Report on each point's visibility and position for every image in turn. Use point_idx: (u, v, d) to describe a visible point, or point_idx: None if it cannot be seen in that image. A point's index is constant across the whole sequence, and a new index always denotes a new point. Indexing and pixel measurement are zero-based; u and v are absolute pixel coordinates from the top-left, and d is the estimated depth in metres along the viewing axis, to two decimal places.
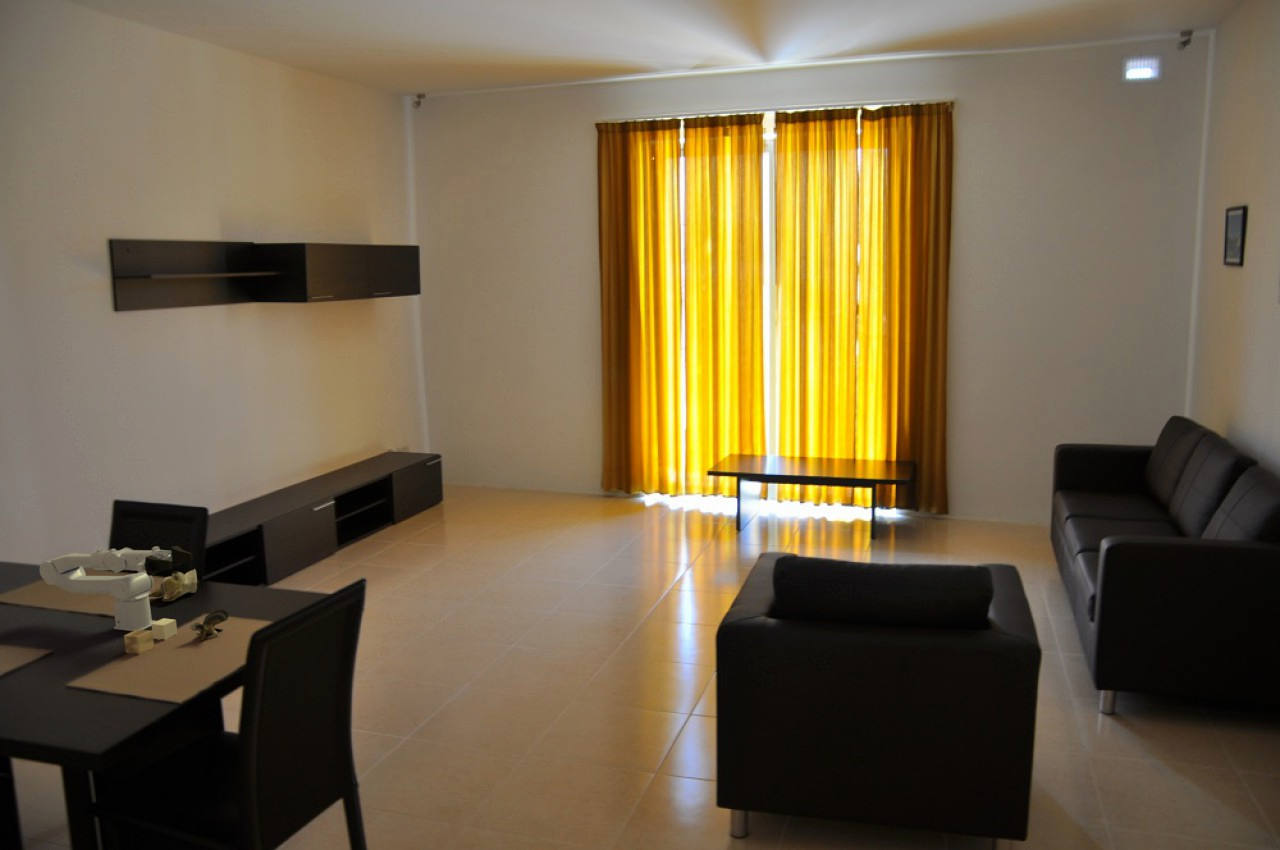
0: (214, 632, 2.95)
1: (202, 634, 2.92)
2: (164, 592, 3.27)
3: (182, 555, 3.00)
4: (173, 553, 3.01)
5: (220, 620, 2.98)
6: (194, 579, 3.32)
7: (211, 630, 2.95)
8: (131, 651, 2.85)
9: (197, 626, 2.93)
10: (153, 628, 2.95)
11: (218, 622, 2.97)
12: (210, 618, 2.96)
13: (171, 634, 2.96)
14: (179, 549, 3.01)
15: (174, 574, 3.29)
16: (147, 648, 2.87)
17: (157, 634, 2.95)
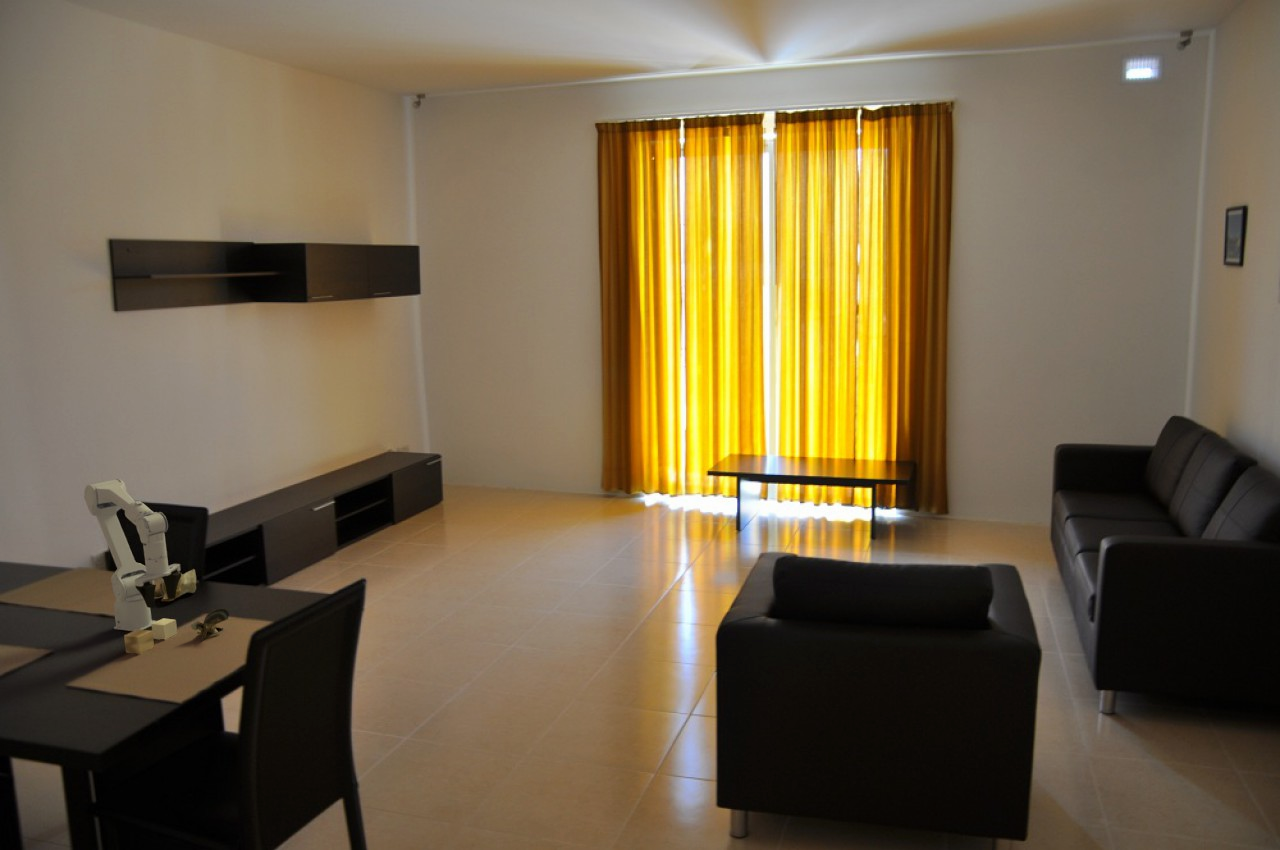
0: (215, 631, 2.96)
1: (203, 633, 2.93)
2: (163, 592, 3.27)
3: (171, 588, 2.98)
4: (171, 577, 2.97)
5: (221, 619, 2.99)
6: (193, 579, 3.32)
7: (212, 629, 2.95)
8: (131, 651, 2.85)
9: (198, 625, 2.94)
10: (153, 628, 2.95)
11: (219, 621, 2.98)
12: (210, 617, 2.97)
13: (171, 634, 2.96)
14: (177, 582, 2.98)
15: None
16: (147, 648, 2.87)
17: (157, 634, 2.95)
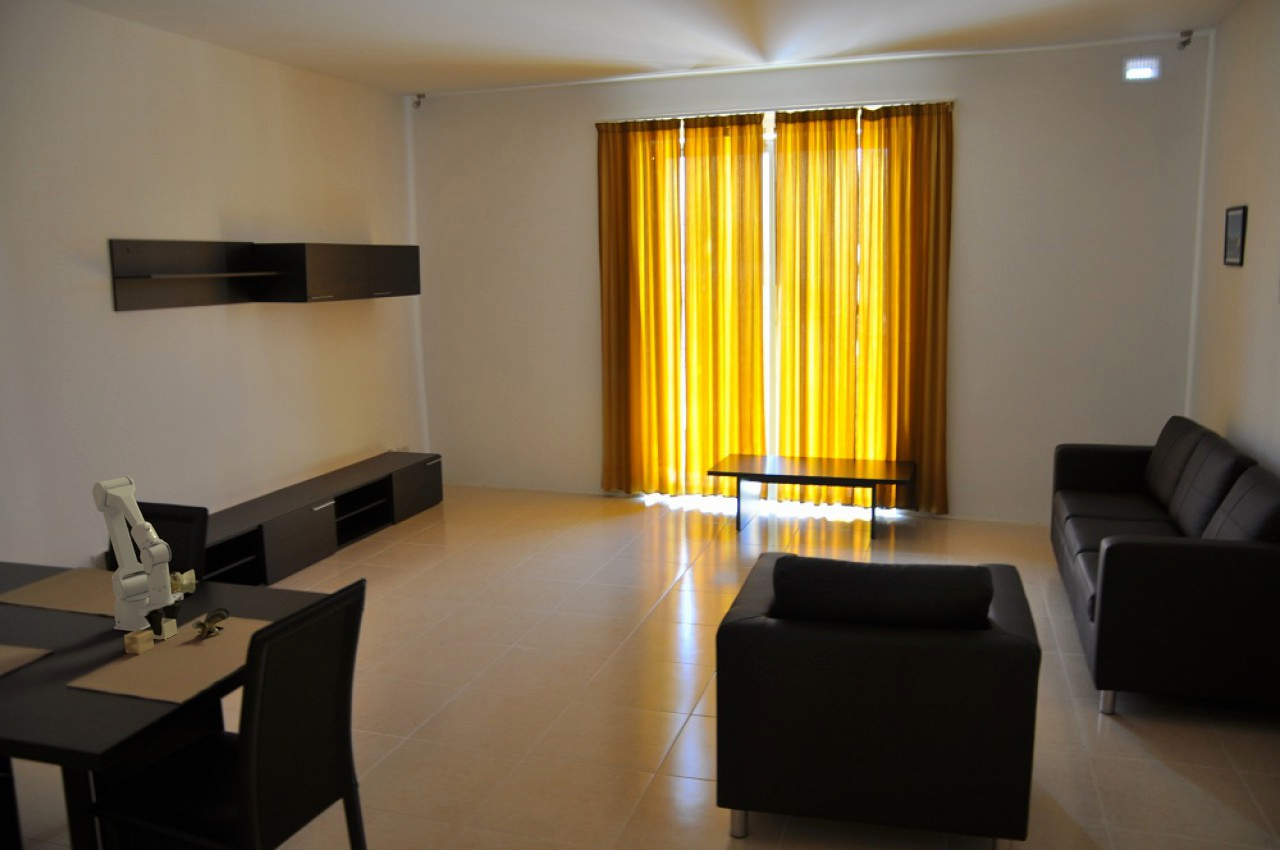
0: (215, 630, 2.97)
1: (203, 632, 2.93)
2: None
3: (170, 618, 2.99)
4: (171, 607, 2.98)
5: (221, 618, 2.99)
6: (192, 579, 3.32)
7: (212, 628, 2.96)
8: (131, 651, 2.85)
9: (198, 624, 2.95)
10: None
11: (219, 620, 2.99)
12: (211, 616, 2.98)
13: (171, 634, 2.96)
14: (177, 612, 2.98)
15: (172, 574, 3.29)
16: (147, 648, 2.87)
17: None
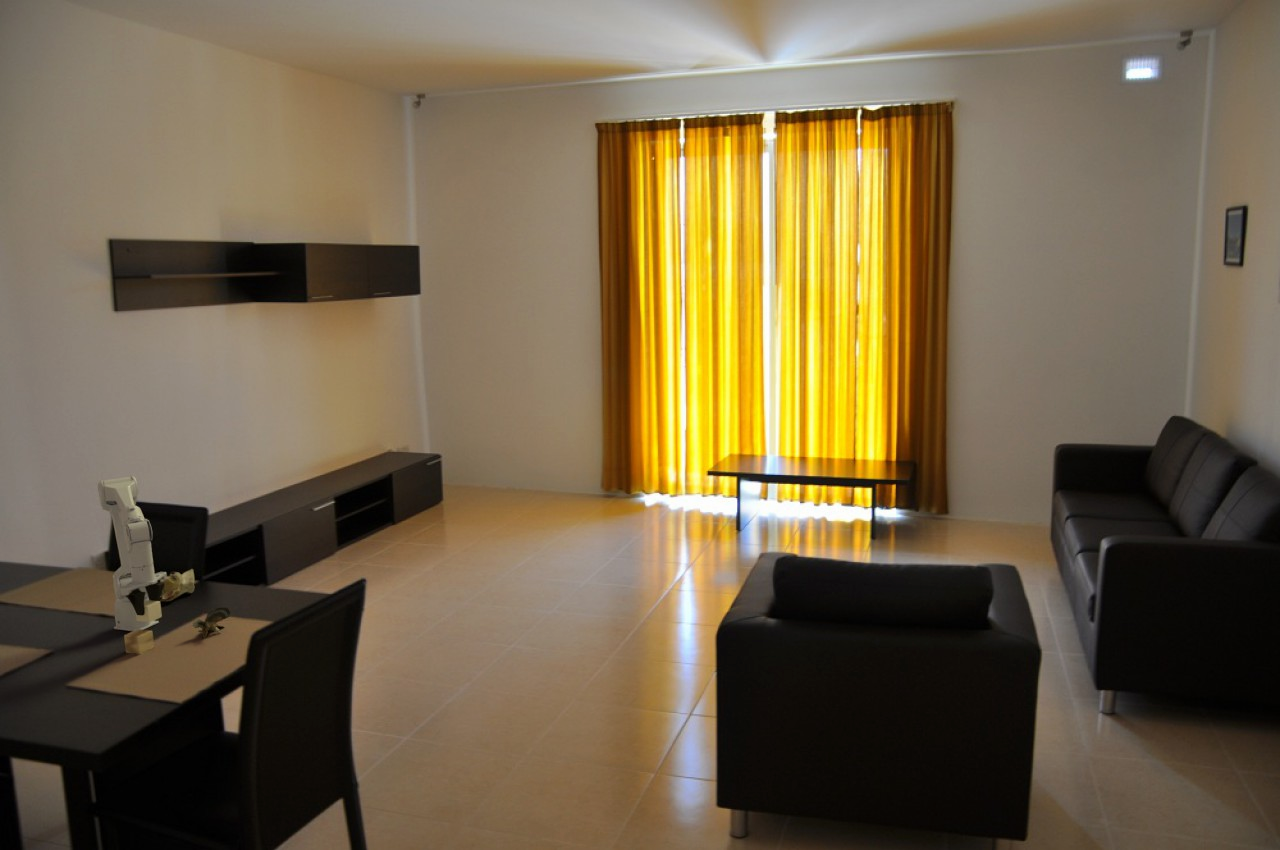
0: (216, 629, 2.97)
1: (204, 631, 2.94)
2: (162, 592, 3.26)
3: (153, 598, 2.92)
4: (154, 587, 2.91)
5: (222, 617, 3.00)
6: (192, 579, 3.32)
7: (213, 627, 2.97)
8: (131, 651, 2.85)
9: (199, 623, 2.95)
10: None
11: (220, 619, 3.00)
12: (212, 616, 2.98)
13: (155, 616, 2.89)
14: (160, 592, 2.92)
15: (172, 574, 3.29)
16: (147, 648, 2.87)
17: (141, 616, 2.88)
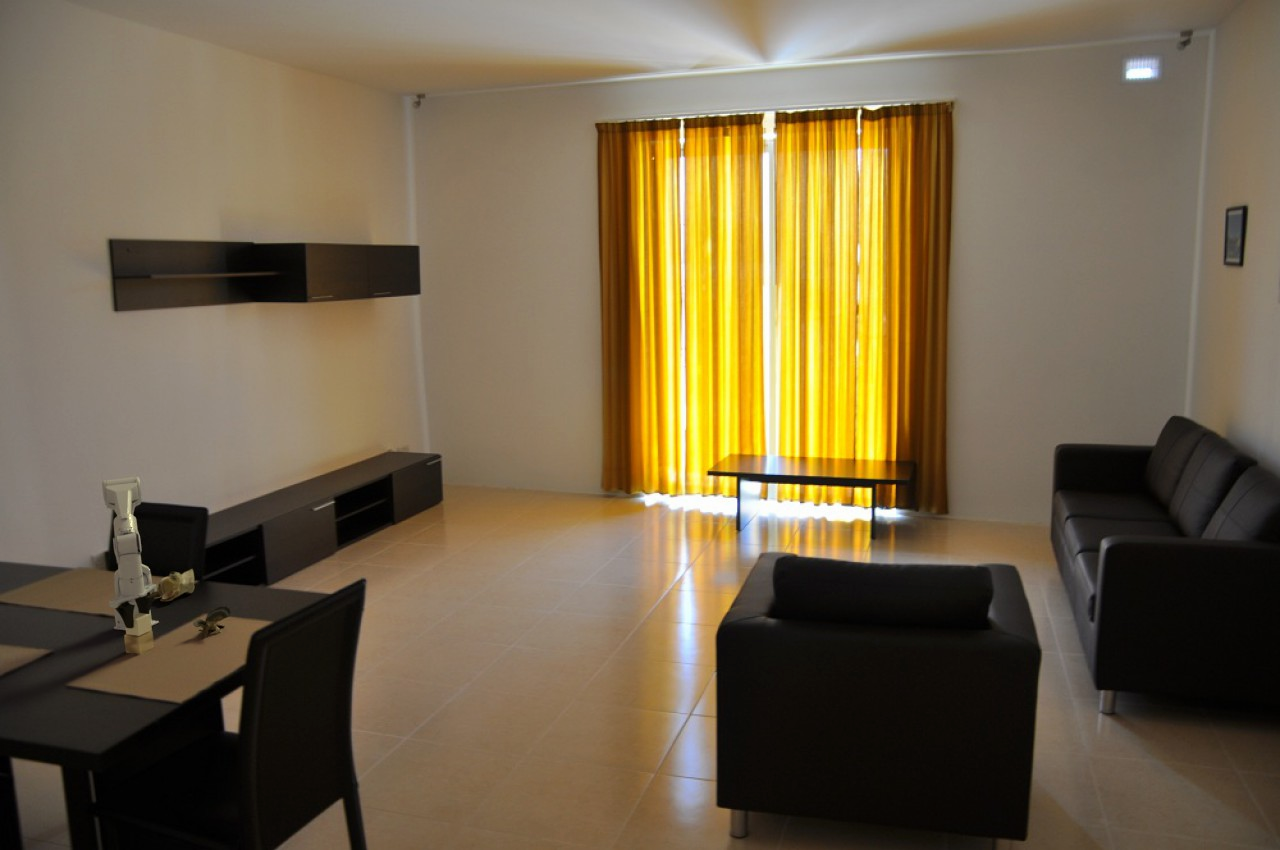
0: (216, 628, 2.98)
1: (205, 630, 2.95)
2: (162, 592, 3.26)
3: (143, 610, 2.88)
4: (144, 599, 2.87)
5: (222, 617, 3.01)
6: (192, 579, 3.32)
7: (213, 626, 2.97)
8: (131, 651, 2.85)
9: (200, 622, 2.96)
10: None
11: (220, 618, 3.00)
12: (212, 615, 2.99)
13: (145, 629, 2.86)
14: (149, 604, 2.88)
15: (172, 574, 3.29)
16: (147, 648, 2.87)
17: (130, 629, 2.84)
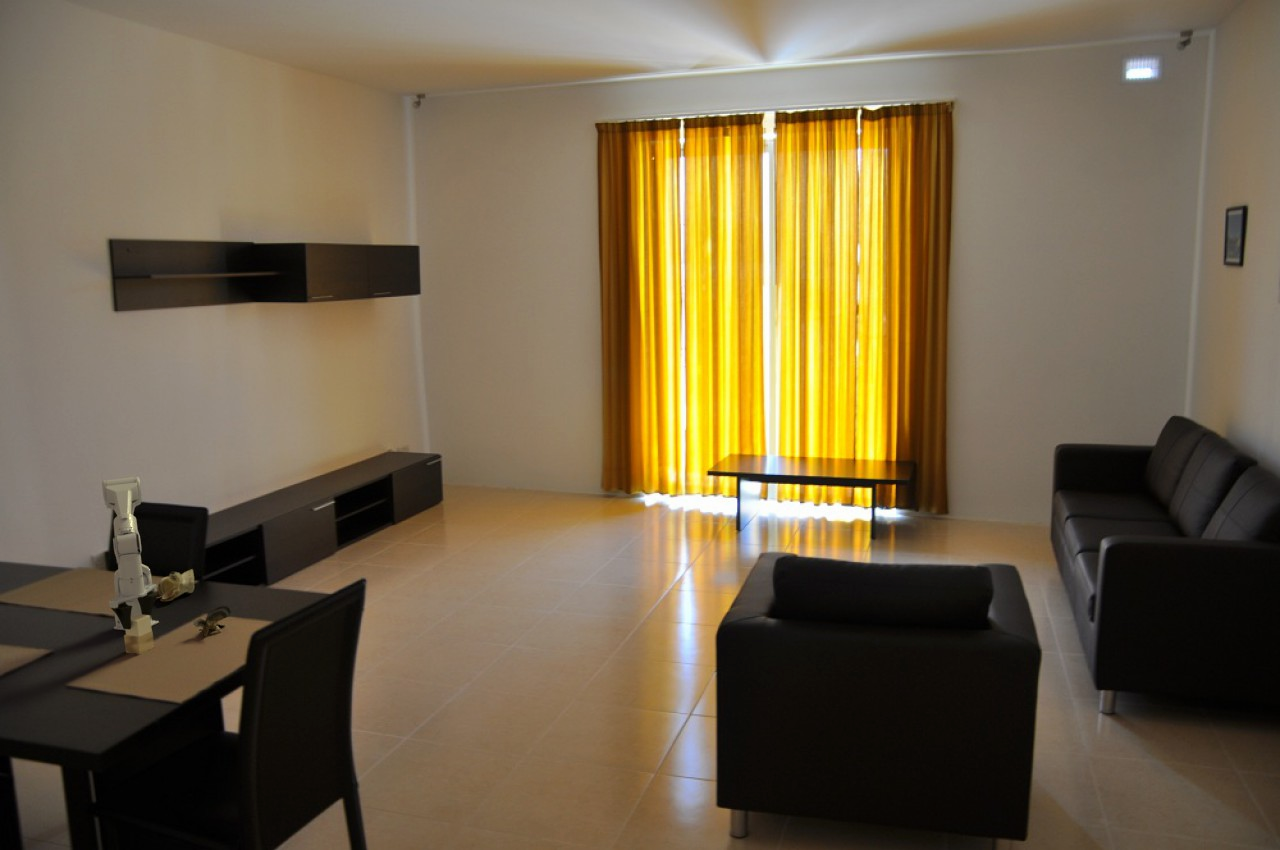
0: (217, 628, 2.98)
1: (205, 630, 2.95)
2: (162, 592, 3.26)
3: (146, 609, 2.89)
4: (146, 598, 2.88)
5: (222, 616, 3.01)
6: (191, 579, 3.32)
7: (214, 626, 2.98)
8: (131, 651, 2.85)
9: (200, 622, 2.96)
10: None
11: (221, 618, 3.00)
12: (212, 614, 2.99)
13: (145, 630, 2.86)
14: (152, 603, 2.89)
15: (171, 574, 3.29)
16: (147, 648, 2.87)
17: (130, 631, 2.85)
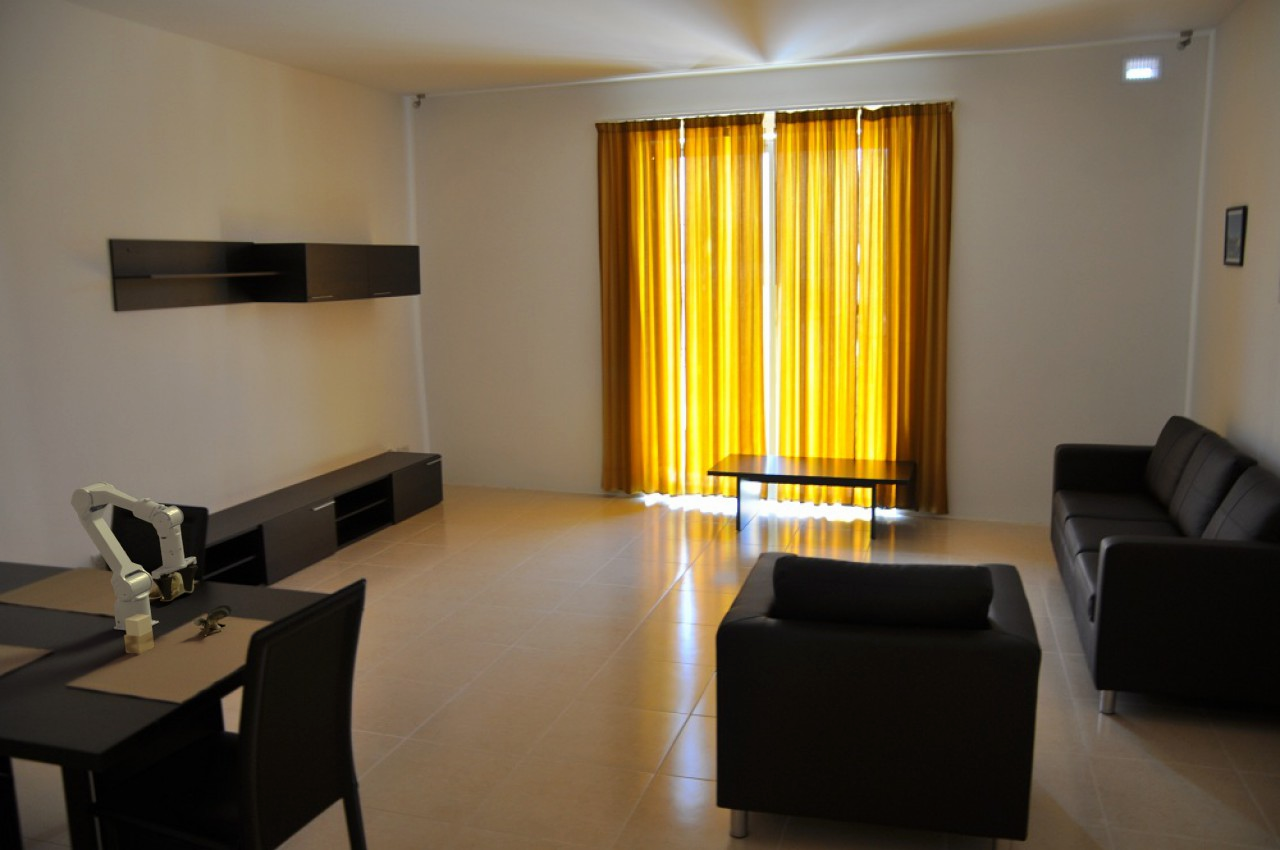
0: (217, 627, 2.99)
1: (206, 629, 2.96)
2: None
3: (187, 580, 3.03)
4: (187, 569, 3.02)
5: (223, 615, 3.02)
6: None
7: (214, 625, 2.98)
8: (131, 651, 2.85)
9: (201, 621, 2.97)
10: (127, 624, 2.85)
11: (221, 617, 3.01)
12: (213, 614, 3.00)
13: (145, 630, 2.86)
14: (193, 574, 3.03)
15: (171, 574, 3.29)
16: (147, 648, 2.87)
17: (131, 630, 2.85)
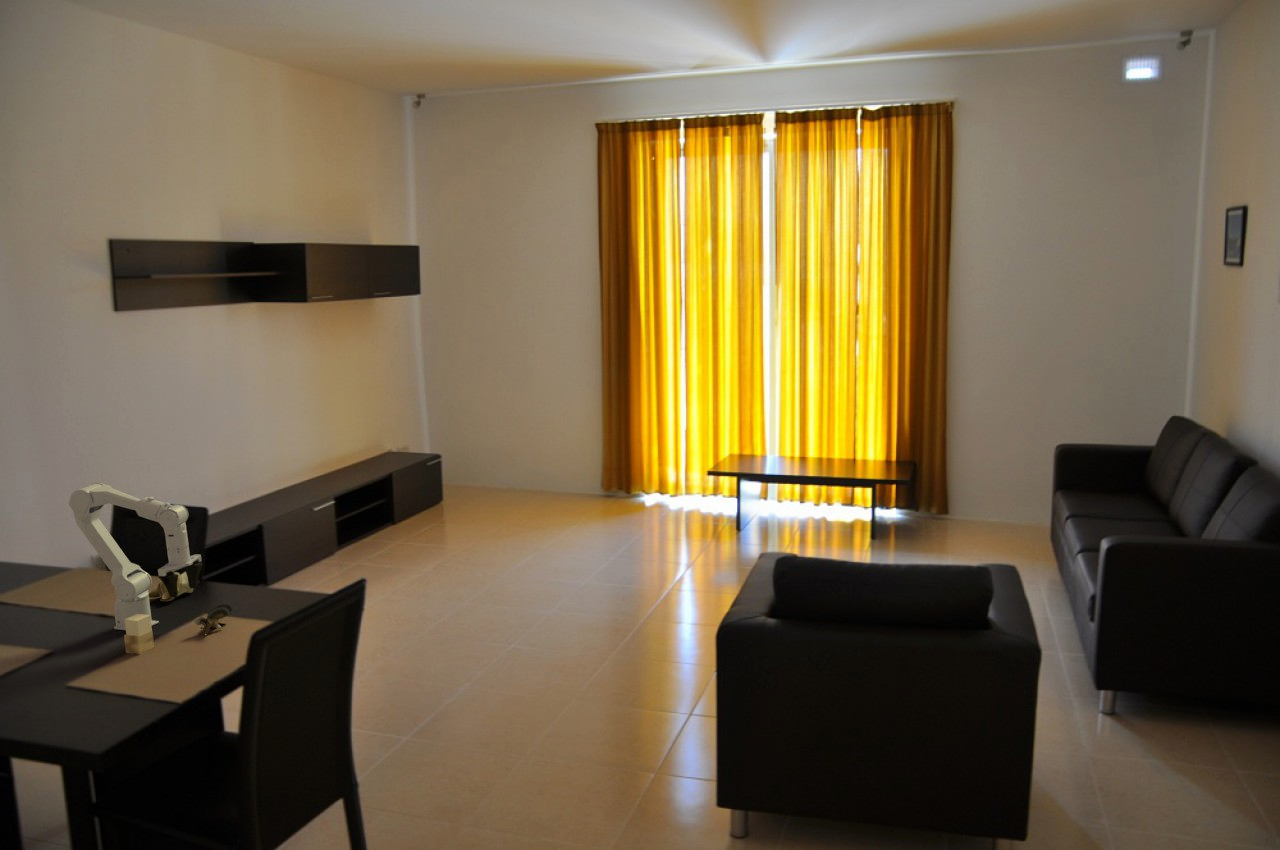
0: (218, 626, 3.00)
1: (206, 628, 2.96)
2: (161, 592, 3.27)
3: (192, 578, 3.05)
4: (193, 567, 3.05)
5: (224, 614, 3.02)
6: None
7: (215, 624, 2.99)
8: (131, 651, 2.85)
9: (201, 620, 2.98)
10: (126, 623, 2.85)
11: (222, 616, 3.02)
12: (213, 613, 3.00)
13: (145, 630, 2.86)
14: (198, 572, 3.05)
15: None
16: (147, 648, 2.87)
17: (130, 630, 2.85)
